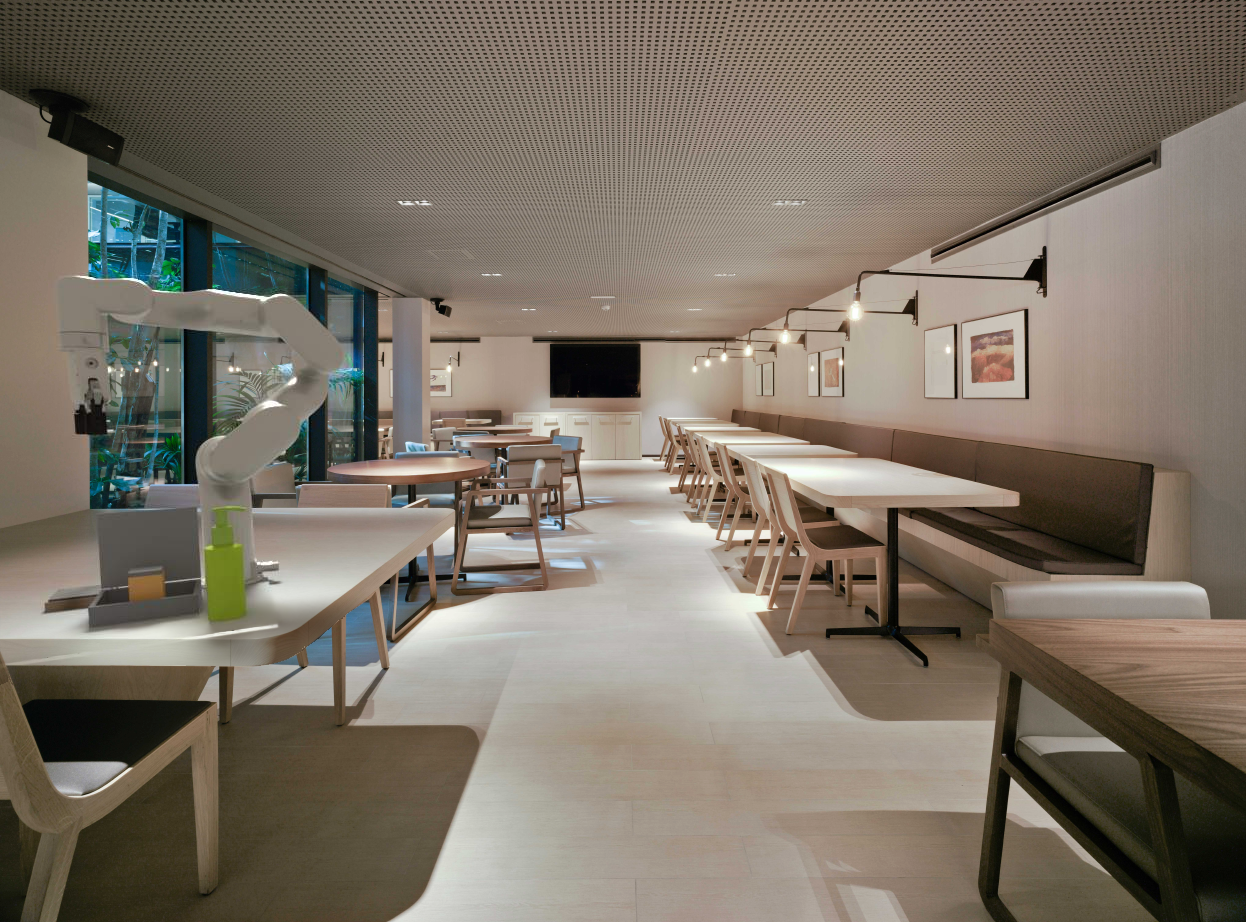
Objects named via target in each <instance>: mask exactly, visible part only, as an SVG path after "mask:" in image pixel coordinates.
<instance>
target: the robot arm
mask: <svg viewBox="0 0 1246 922" xmlns="http://www.w3.org/2000/svg"><path fill="white" fill-rule="evenodd" d="M54 289H55V291H54V292H55V301H56V302H55V303H56V304H55V305H56V314H57V316H56V317H57V328H58V340H59V343H58V344H59V352H63V353H67V373H68V374H67V375H68V385H69V386H68V387H69V394H70V400H71V402H72V404H74V409H73V411H74V413H73V419H74V431H75V434H76V435H87V436H104V435H108V423H107V422H108V421H107V413H106V406H105V404H109V403H110V402H111V401H112V393H111V385H110V378H109V377H110V376H109V369H108V362H107V357H106V354H107V353H110V338H109V327H108V315H109V316H111V317H112V318H114V319H115V320H116V321H119V322H121V323H126V324H131V325H139V326H140V325H141V326H148V327H149V326H150V327H159V328H168V329H169V328H170V329H183V330H184V329H186V330H192V331H193V330H194V331H202V332H218V333H227V334H238V335H247V336H253V337H255V336H256V337H264V338H281V339H282V341H284V343H285V344H286V345H287V346H288V347H289V348H290V349H291V350H292V351H291V357H290V358H291V359H290V360H291V366H292V369H291V370H292V371H291V376H290V377H289V380H288V381H287V382H286V383H285V384H284V385H282V386H281V387H280V388H279V389H278V390H277V391H275V392H274V393H273V394H271V395H270V396H269V397H267V398H266V399H264V400H263V401H262V402H260V403H259V404H257V405H256V406H254V407H253V408H251V409H250V410H249V411H248V412H247V413H246V414H244V415H245V416H243V419H242V422H241V424H240V425H238V426H237V427H236V428H233V430H231V432H229V433H228V434H226V435H218V436H213V437H211V438H209V439H207V440H205V441H204V442H203V443H202V444H201V445H200V446H199V448H198V449H197V451H196V456H195V469H196V470H195V471H196V477H197V483H198V484H197V485H198V490H199V491H198V492H199V501H200V502H199V503H200V518H201V519H200V521H201V523H200V524H201V534H202V537H201V539H202V551H203V564H204V565H203V568H204V577H203V578H200V579H201V587H202V589H205V590H207V587H206V571H205V555H204V548H205V547H207V546H210V545H212V533H211V527H213V526H214V525H217V523H216V512H213V513H211V509H213V508H218V507H226V506H239V507H245V508H247V509H246V510H245V511H243V512H242V511H227V522H228V524H230V525H233V531H234V543H240V544H242V546H243V563H244V581H245V586H248V585H252V584H256V583H259V582H261V581H263V580H264V578H265V576H264V573H266V572H267V573H268V572H278V571H280V566H279V561H276V562H275V561H274V562H273V561H268V562H267V561H266V562H263V561H262V562H260V561H258V560H257V557H255V556H256V555H255V539H254V524H253V522H254V520H253V519H254V518H253V501H252V499H253V498H252V491H251V485H250V483H251V482H250V479H251V478H253V477H254V476H255V475H258V473H259V472H261V471H262V470H263V469H265V468H266V467H267V466H268V465H270V464H271V463H272V462H273V461H274V460H276V459H277V458H278V457H279V456H280V455H282V454H283V453H284V452H285V451H287V450H288V449H289V448H290V447H291V446H292V445H294V443H295V442H296V441H297V439H298V437H299V435H300V434H301V427H302V426H301V425H302V423H304V422H305V421H306V420H307V419H308V418H309V417H310V416H311V415H312V414H315V412H316V411H317V410H318V409H320V407H321V406H322V405H323V404H324V401H325V400H326V398H327V396H328V393H329V389H330V375H332V374H333V373H336V372H337V371H338V370H340V369H341V367H342V366H343V364H344V360H345V353H344V350H343V346H342V345H341V343H340V342H339V340H338V339H337V337H335V336H334V335H333V334H332V333H331V332H330V331H329V330H328V329H327V328H326V327H325V326H324V325H323V324H322V323H321V322H320V321H319V320H318V319H317V317H315V316H314V315H313V314H312V313H311V312H310V311H309V309H307V308H306V307H305V306H304V305H303V304H302V303H301V302H300V301H299V300H297V299H296V298H294V297H293V296H291V295H288V294H284V293H278V294H274V295H271V296H269V297H267V296H259V295H252V294H244V293H236V292H229V291H224V290H218V289H201V290H195V291H185V292H183V291H182V292H181V291H175V292H174V291H164V290H163V291H162V290H156V289H154V290H153V289H152V288H151V287H150V286H149V285H148V284H147V283H145V282H143V281H142V280H140V279H139V280H138V279H136V278H128V277H127V278H125V277H124V278H94V277H90V276H83V275H82V276H80V275H63V276H60V277H58V278H57V279H56V280H55V282H54Z"/></svg>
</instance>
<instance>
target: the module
mask: <svg viewBox="0 0 1246 922" xmlns="http://www.w3.org/2000/svg"><path fill="white" fill-rule="evenodd" d="M165 583H166V582H165V575H164V565H157V566H147V567H137V568H131V569H130V571H129V572H128V584H129V586H128V587H129V598H130V602H132V601H141V600H149V599H157V598H165V597H166V590H165Z"/></svg>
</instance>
